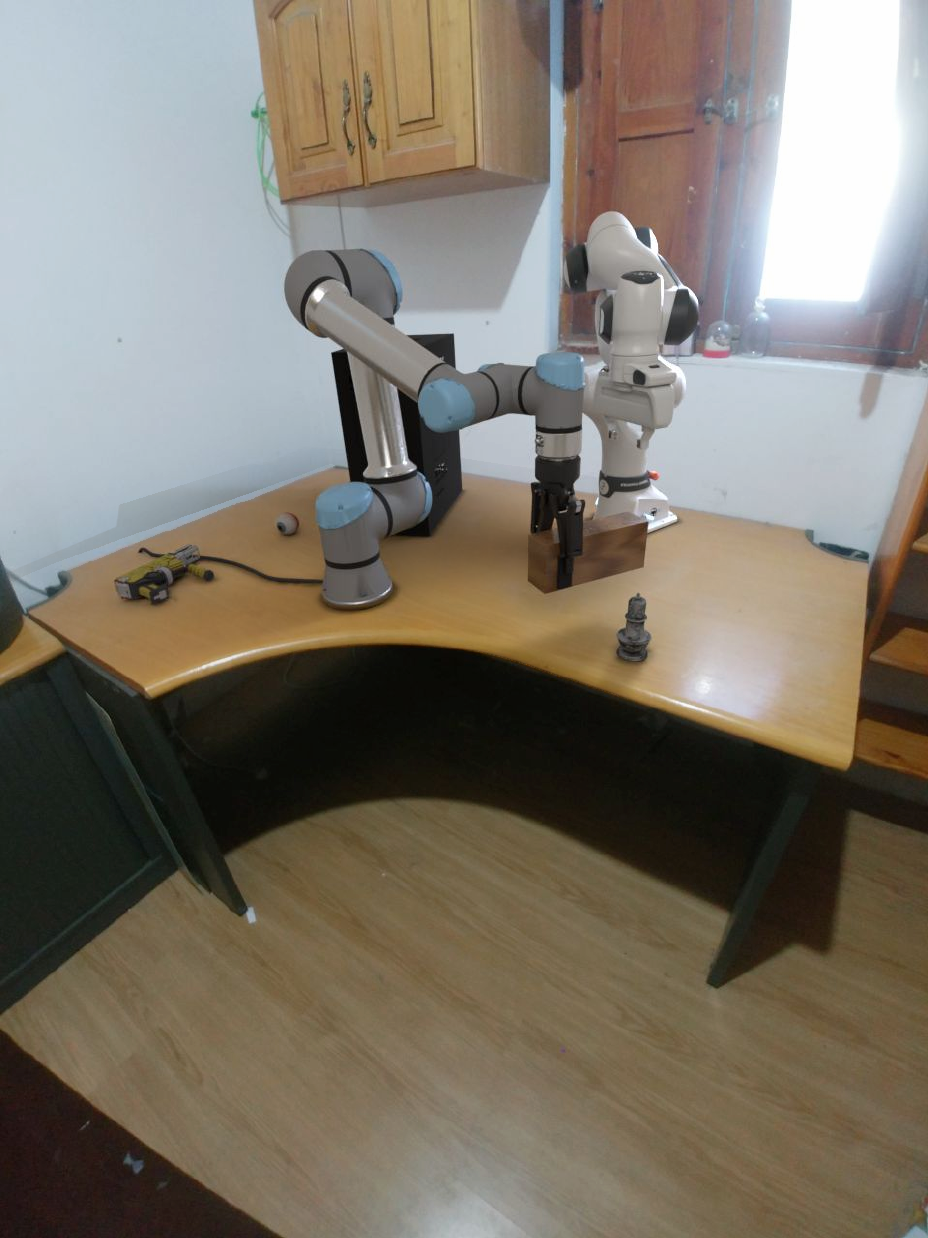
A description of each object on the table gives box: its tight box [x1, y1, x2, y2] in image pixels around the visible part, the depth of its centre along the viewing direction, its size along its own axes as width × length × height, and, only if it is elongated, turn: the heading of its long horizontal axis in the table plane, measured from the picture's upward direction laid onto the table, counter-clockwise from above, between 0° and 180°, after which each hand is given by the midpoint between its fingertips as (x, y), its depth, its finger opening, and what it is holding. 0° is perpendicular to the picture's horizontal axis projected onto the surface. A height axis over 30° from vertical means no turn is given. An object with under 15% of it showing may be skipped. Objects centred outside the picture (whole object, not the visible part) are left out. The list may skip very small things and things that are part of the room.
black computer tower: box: [330, 332, 463, 537], centre depth 165 cm, size 38×20×45 cm, turn 167°
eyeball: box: [275, 511, 300, 536], centre depth 163 cm, size 6×6×6 cm
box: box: [527, 512, 649, 595], centre depth 111 cm, size 22×6×9 cm, turn 115°
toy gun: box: [113, 543, 215, 606], centre depth 141 cm, size 5×24×15 cm
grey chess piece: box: [616, 592, 652, 662], centre depth 103 cm, size 6×6×12 cm
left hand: (554, 580), depth 111 cm, fingers closed on box, 6 cm apart
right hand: (626, 443), depth 121 cm, fingers open, 8 cm apart
